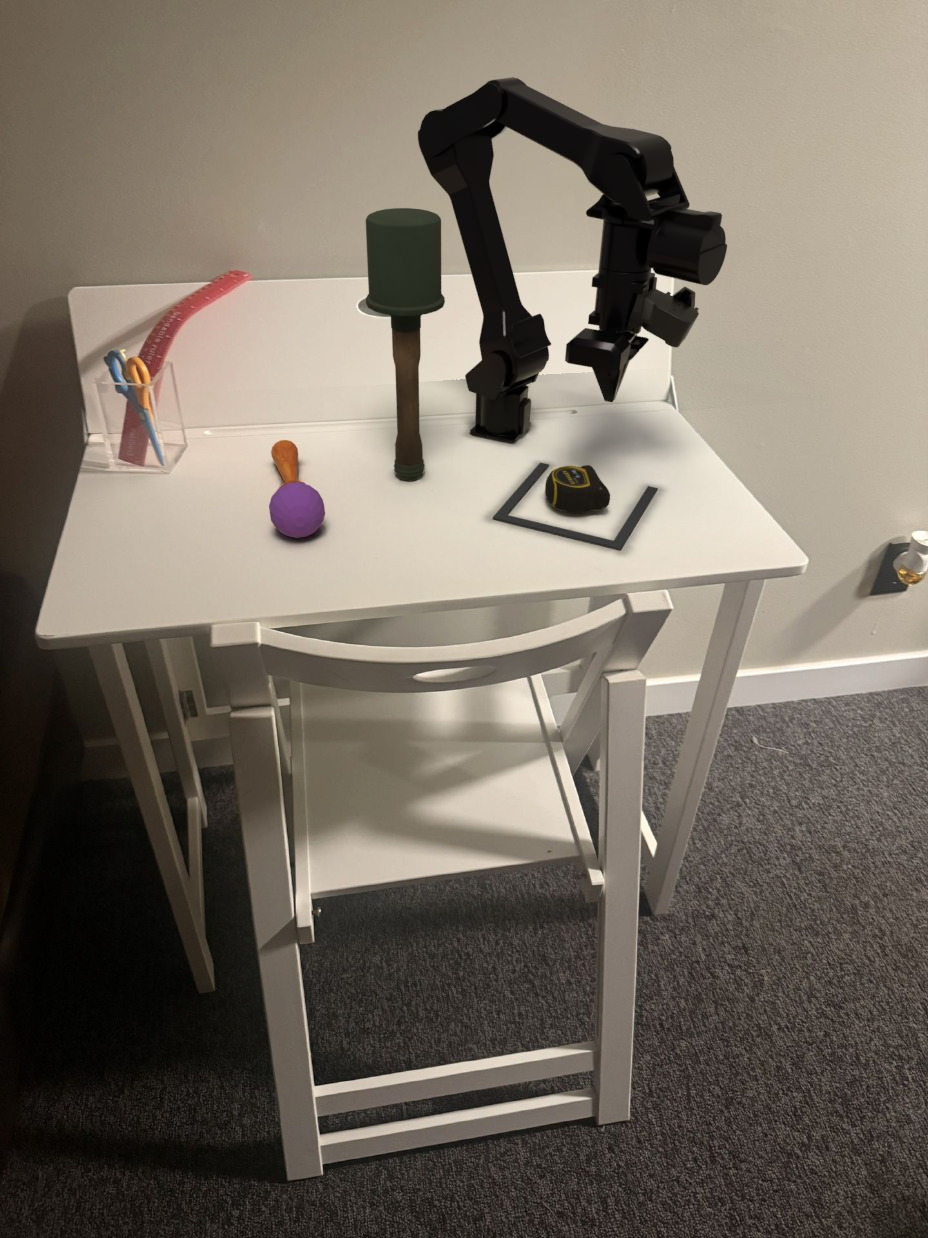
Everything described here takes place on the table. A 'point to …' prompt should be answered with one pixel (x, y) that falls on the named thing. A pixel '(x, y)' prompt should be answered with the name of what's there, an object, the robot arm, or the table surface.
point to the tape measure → (576, 489)
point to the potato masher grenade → (405, 309)
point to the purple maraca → (294, 496)
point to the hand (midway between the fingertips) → (609, 400)
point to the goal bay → (616, 544)
